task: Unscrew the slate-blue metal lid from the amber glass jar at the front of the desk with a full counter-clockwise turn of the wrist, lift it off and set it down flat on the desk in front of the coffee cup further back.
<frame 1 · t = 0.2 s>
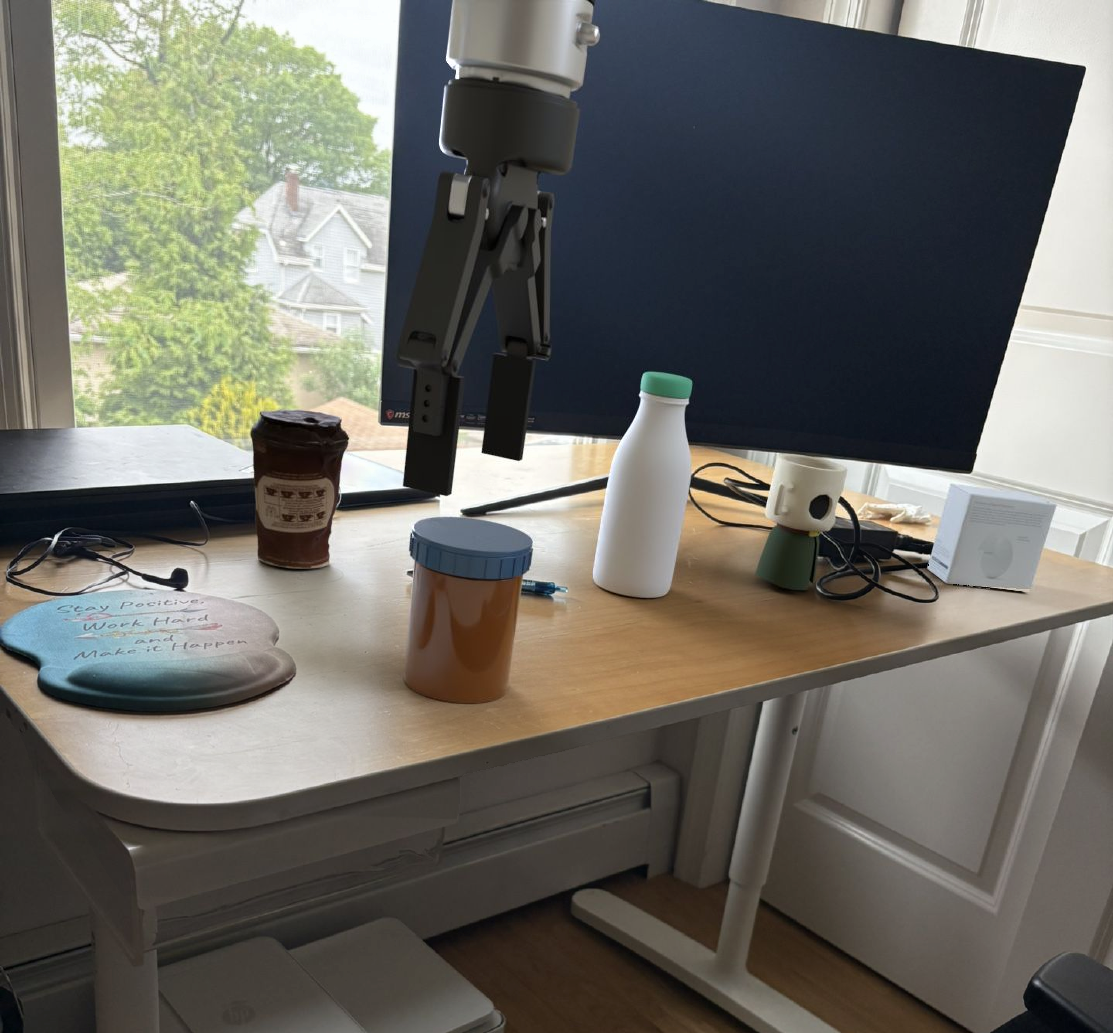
hand: (467, 472, 71), 16 cm above the table, tool pointing down, fingers open, 13 cm apart
character mug: (782, 587, 119), on the table
cosmetics box: (975, 582, 134), on the table
jar: (455, 682, 83), on the table
coffee cup: (293, 563, 103), on the table
jar lid: (472, 539, 78), point 11 cm above the table, screwed on, not yet turned
milk bottle: (630, 588, 111), on the table
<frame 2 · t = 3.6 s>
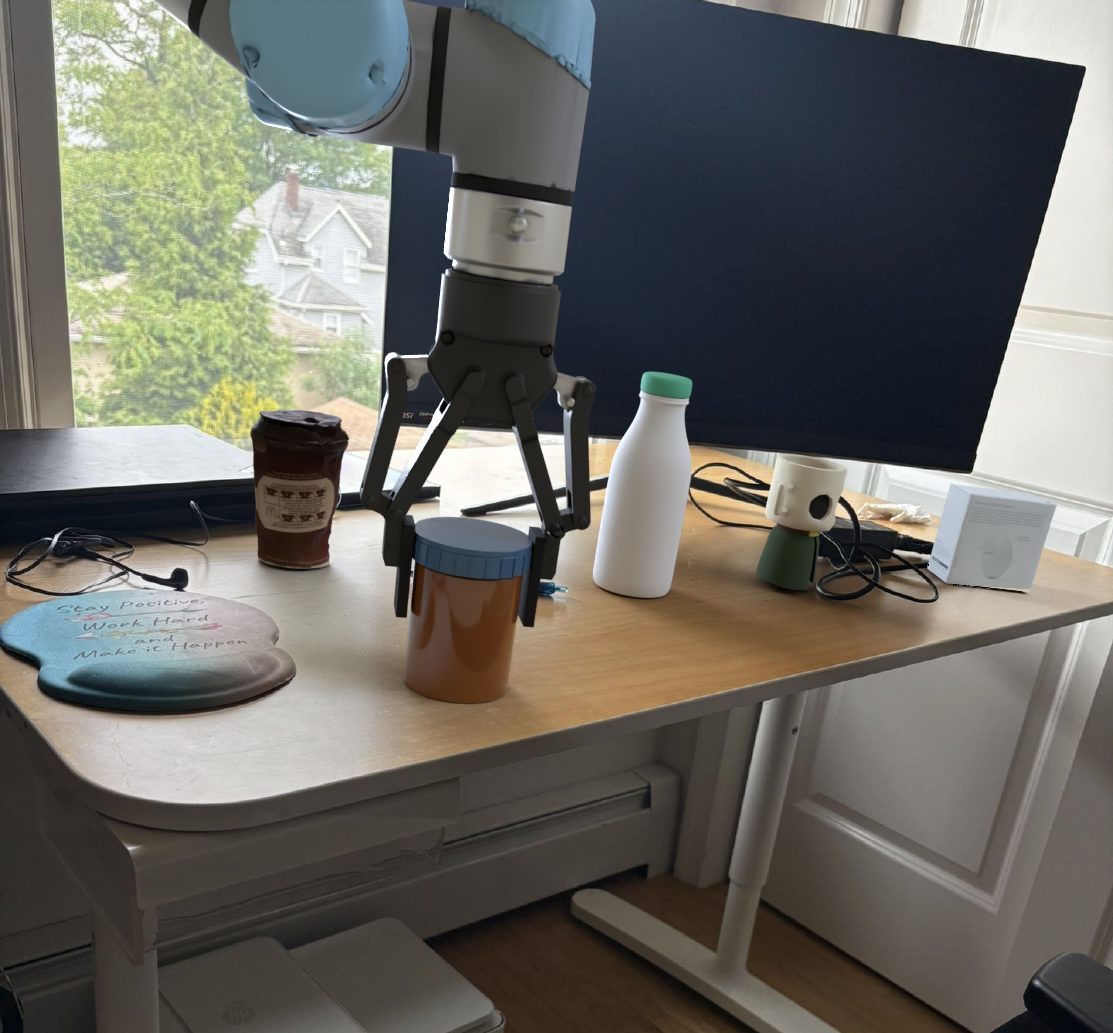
hand: (463, 615, 80), 5 cm above the table, tool pointing down, fingers closed on jar lid, 8 cm apart
jar lid: (472, 539, 78), point 11 cm above the table, screwed on, not yet turned, touching gripper
everything else where it was.
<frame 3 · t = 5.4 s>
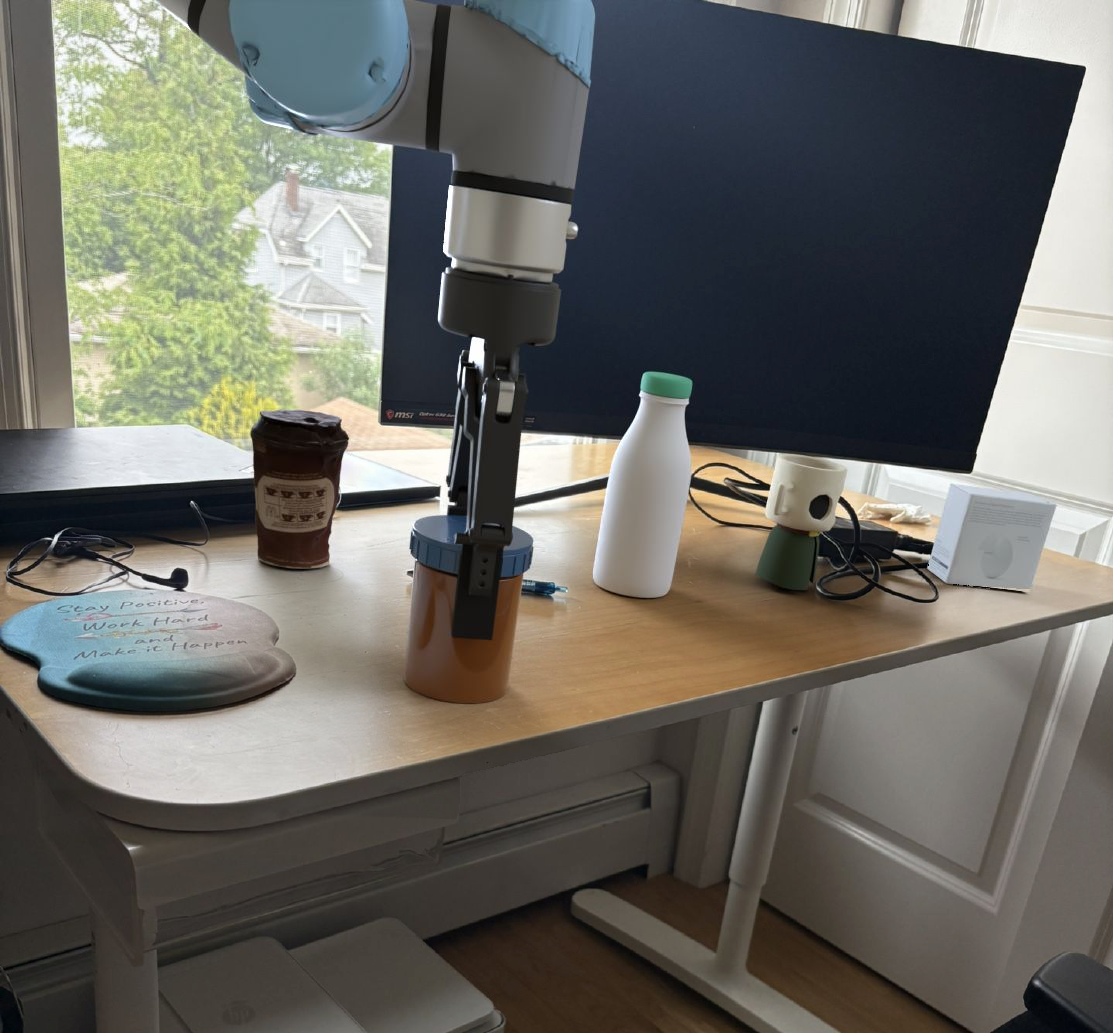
hand: (464, 614, 80), 5 cm above the table, tool pointing down, fingers closed on jar lid, 8 cm apart
jar lid: (472, 537, 78), point 11 cm above the table, turned 90° so far, risen 0.1 cm, still on its thread, touching gripper
everything else where it was.
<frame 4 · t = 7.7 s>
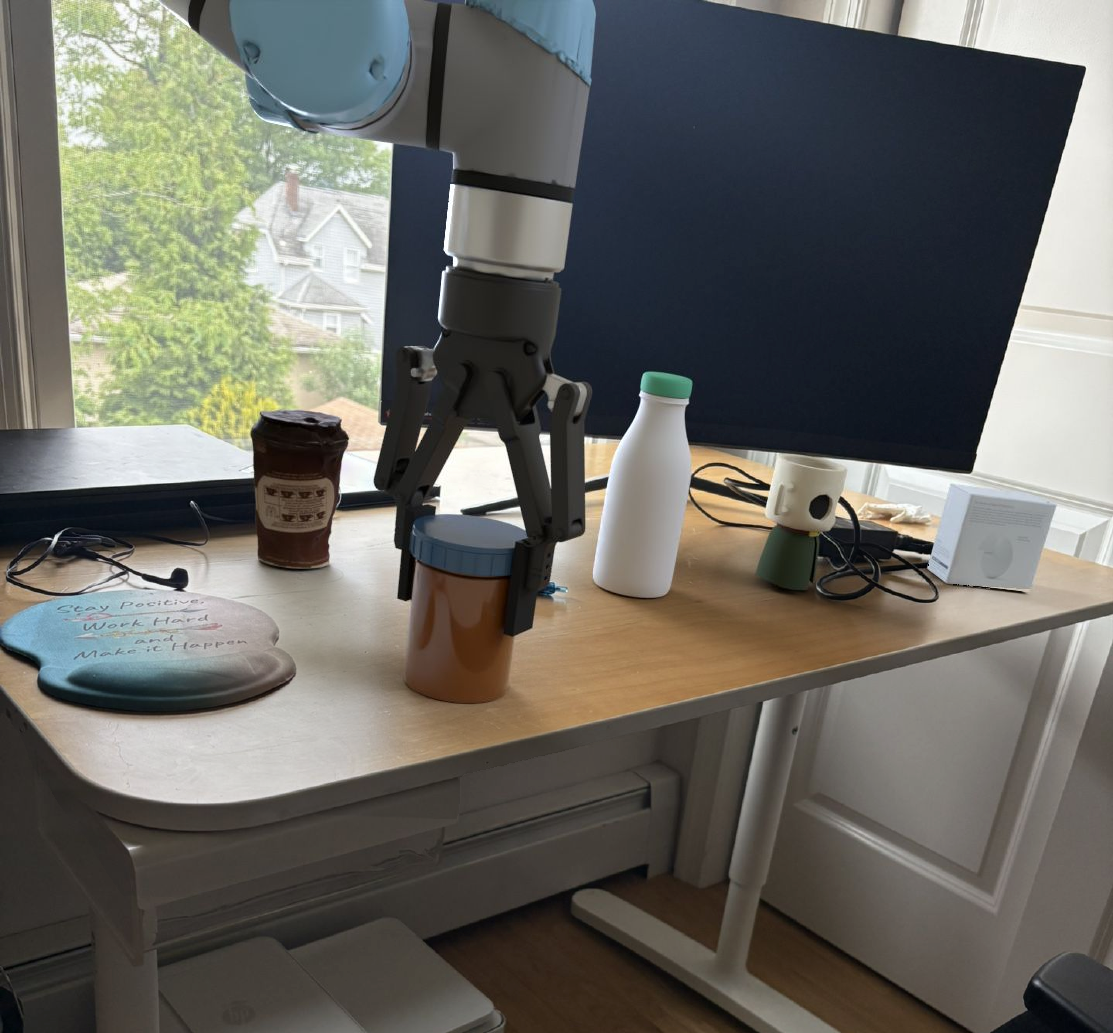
hand: (464, 613, 80), 5 cm above the table, tool pointing down, fingers closed on jar lid, 8 cm apart
jar lid: (472, 536, 78), point 11 cm above the table, turned 140° so far, risen 0.2 cm, still on its thread, touching gripper
everything else where it was.
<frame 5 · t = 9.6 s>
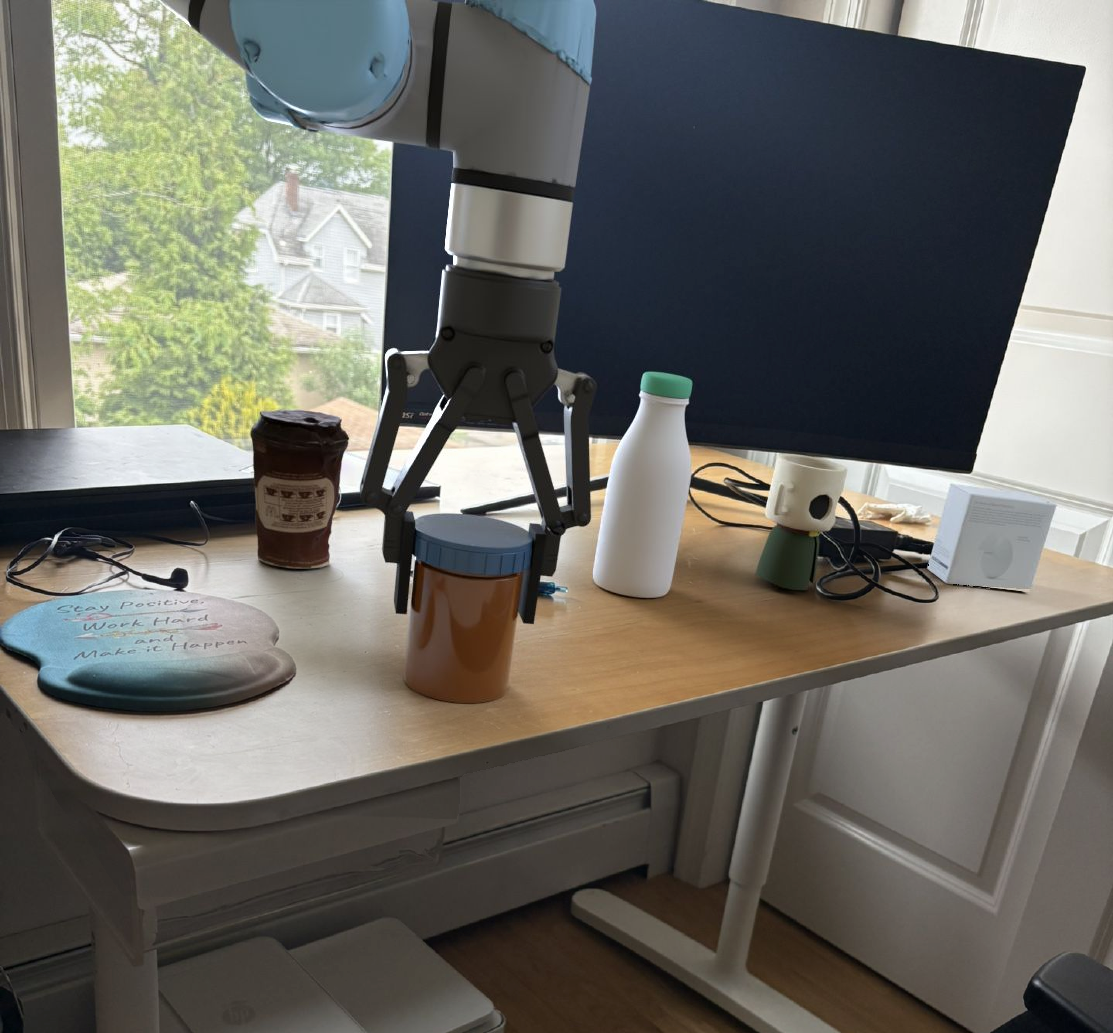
hand: (463, 612, 80), 5 cm above the table, tool pointing down, fingers closed on jar lid, 8 cm apart
jar lid: (472, 535, 78), point 11 cm above the table, turned 180° so far, risen 0.2 cm, still on its thread, touching gripper
everything else where it was.
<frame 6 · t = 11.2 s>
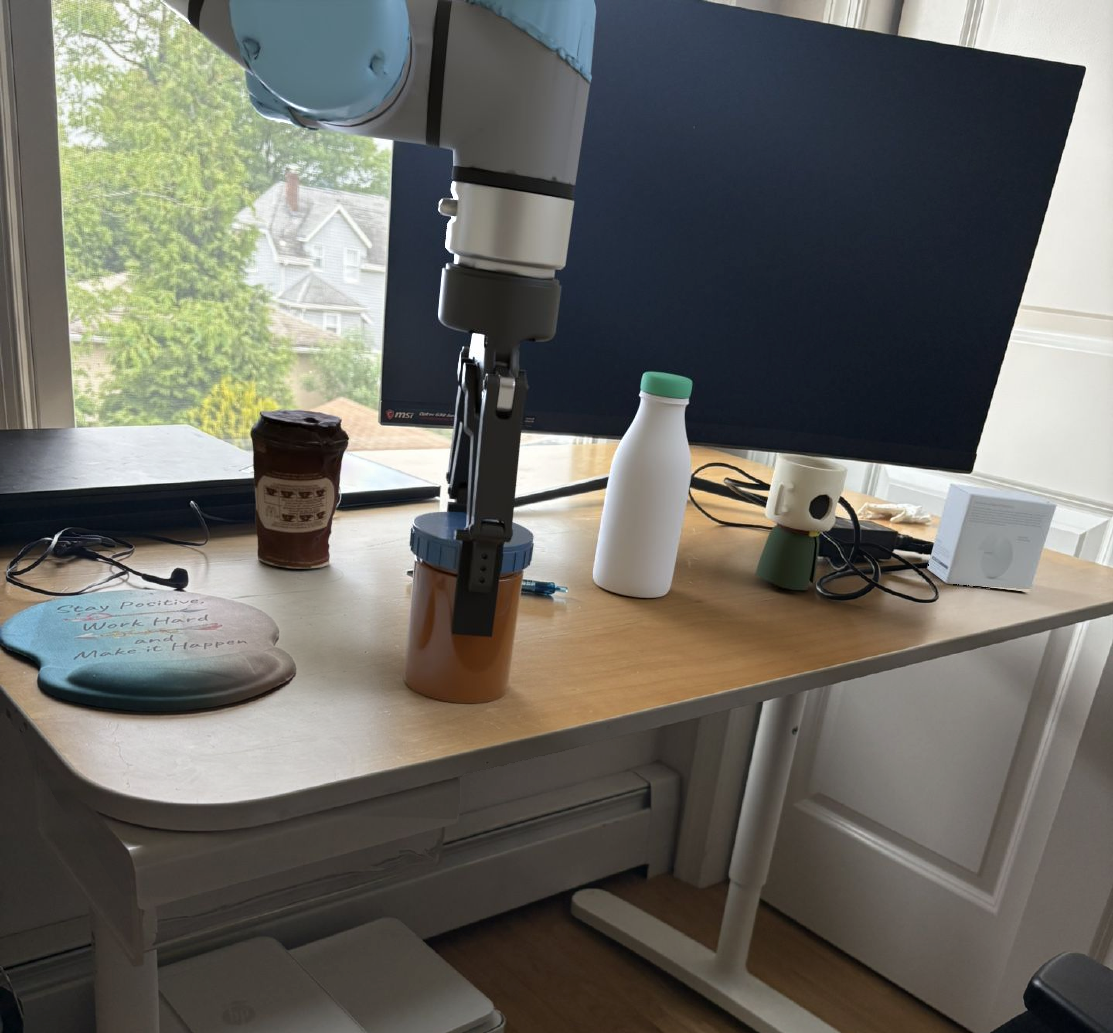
hand: (464, 611, 80), 5 cm above the table, tool pointing down, fingers closed on jar lid, 8 cm apart
jar lid: (473, 533, 78), point 11 cm above the table, turned 270° so far, risen 0.4 cm, still on its thread, touching gripper
everything else where it was.
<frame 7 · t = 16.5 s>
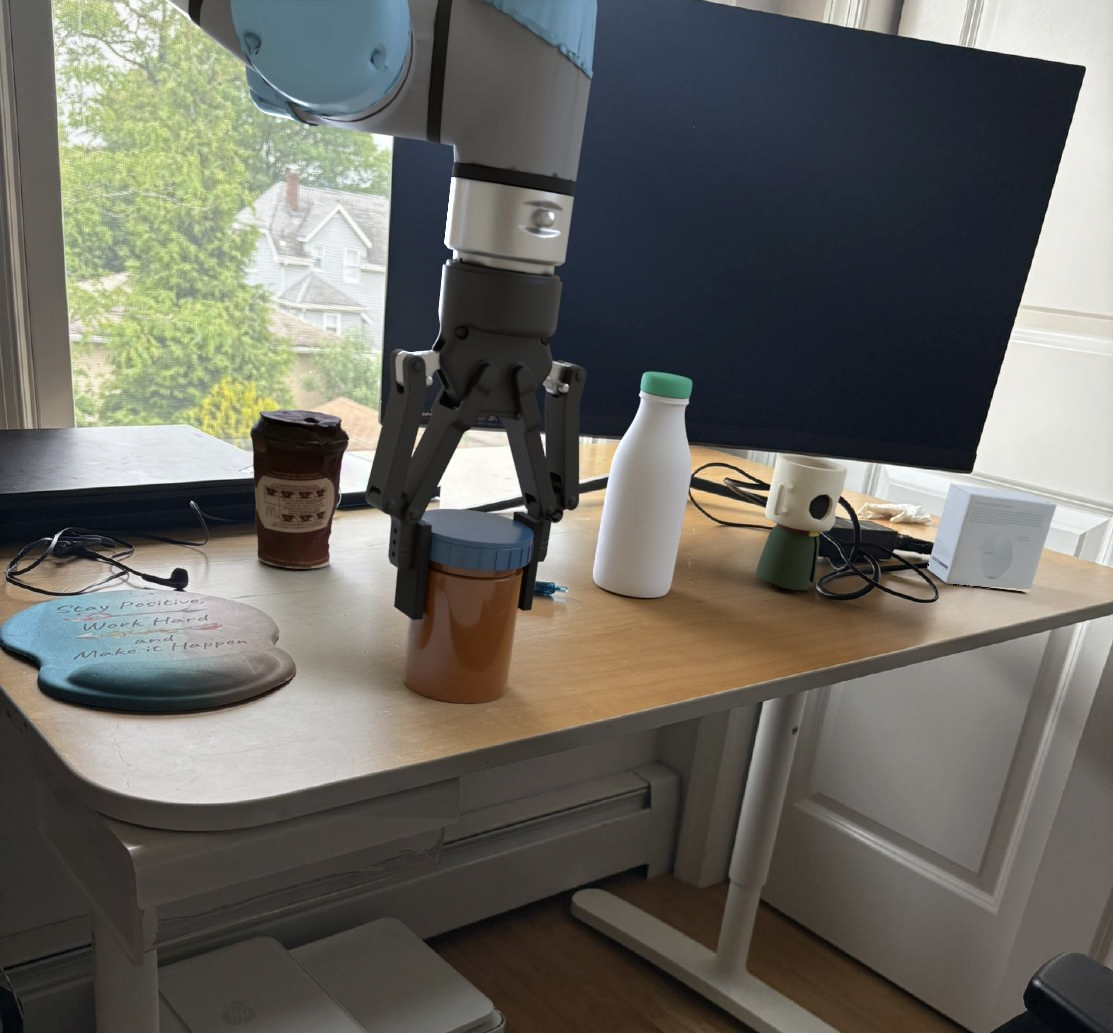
hand: (464, 608, 80), 6 cm above the table, tool pointing down, fingers closed on jar lid, 8 cm apart
jar lid: (473, 530, 78), point 11 cm above the table, off its thread, touching gripper
everything else where it was.
when the fingers open (0 cm above the table, at t = 25.3 s): jar lid drops 4 cm, point 1 cm above the table.
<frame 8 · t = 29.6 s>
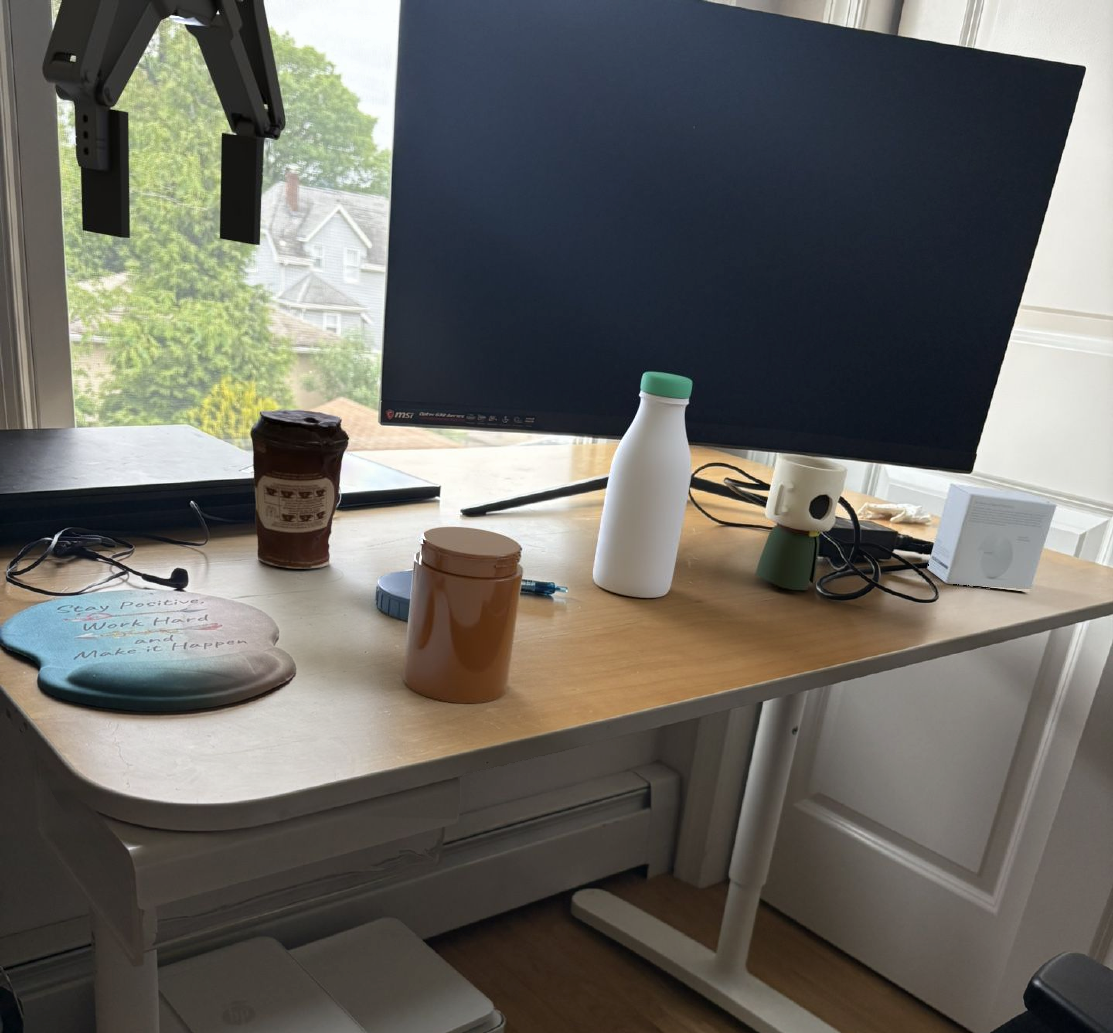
hand: (178, 239, 72), 27 cm above the table, tool pointing down, fingers open, 13 cm apart
jar lid: (427, 590, 96), point 1 cm above the table, off its thread
everything else where it was.
at the end: jar lid inside the target area on the table beside the coffee cup (0.5 cm from its centre), point 1.7 cm above the table; jar lid point 1.5 cm above the table; the gripper is holding nothing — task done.
